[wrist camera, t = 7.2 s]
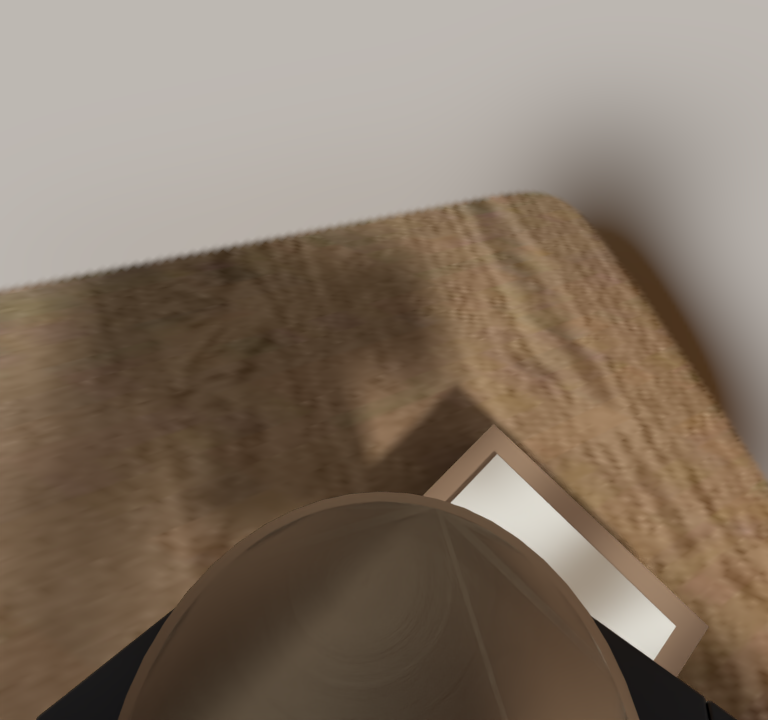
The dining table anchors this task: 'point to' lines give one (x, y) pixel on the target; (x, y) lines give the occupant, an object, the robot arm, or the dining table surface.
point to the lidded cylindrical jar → (379, 625)
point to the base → (572, 547)
